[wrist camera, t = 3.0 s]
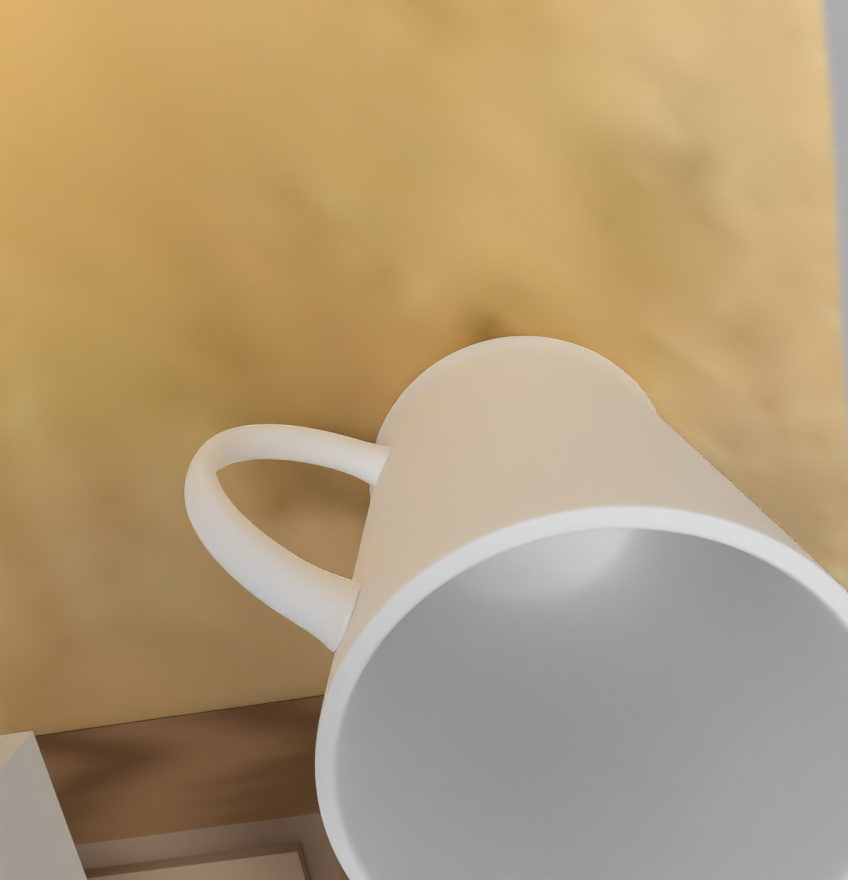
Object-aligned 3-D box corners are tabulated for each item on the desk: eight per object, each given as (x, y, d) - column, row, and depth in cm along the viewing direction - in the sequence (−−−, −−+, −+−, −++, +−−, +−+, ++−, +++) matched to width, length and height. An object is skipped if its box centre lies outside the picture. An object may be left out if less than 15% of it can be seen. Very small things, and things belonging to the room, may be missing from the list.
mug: (219, 485, 22) (-22, 783, 11) (353, 215, 20) (236, 218, 8) (567, 660, 23) (691, 1091, 12) (729, 427, 21) (1072, 679, 10)
